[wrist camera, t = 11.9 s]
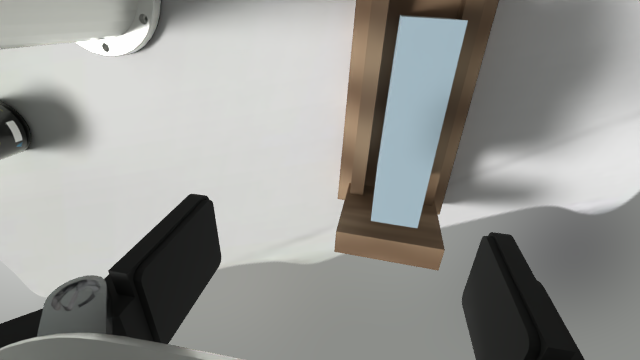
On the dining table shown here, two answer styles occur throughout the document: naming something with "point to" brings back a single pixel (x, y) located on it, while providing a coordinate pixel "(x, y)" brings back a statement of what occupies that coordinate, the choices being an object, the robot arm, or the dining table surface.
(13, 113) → the supplement container
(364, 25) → the base
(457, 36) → the door panel
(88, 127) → the dining table surface
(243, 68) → the dining table surface
